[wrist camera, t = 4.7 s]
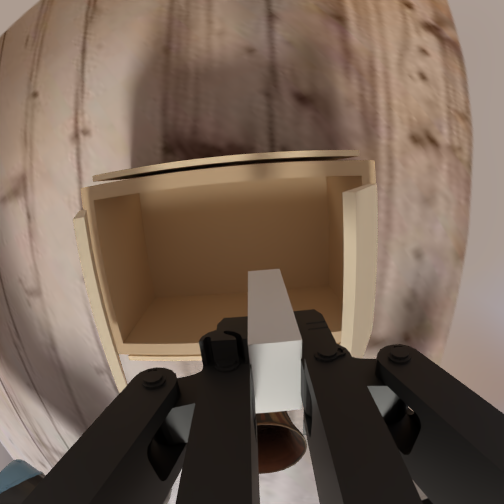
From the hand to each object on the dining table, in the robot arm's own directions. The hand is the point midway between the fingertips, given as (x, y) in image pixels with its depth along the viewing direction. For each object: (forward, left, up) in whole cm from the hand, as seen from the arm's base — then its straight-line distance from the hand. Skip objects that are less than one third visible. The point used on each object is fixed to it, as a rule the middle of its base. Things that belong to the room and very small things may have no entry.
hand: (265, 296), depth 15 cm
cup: (-1, -20, -16) cm, 25 cm away
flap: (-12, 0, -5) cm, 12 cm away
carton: (-2, 0, -15) cm, 15 cm away
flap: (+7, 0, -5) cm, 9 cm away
